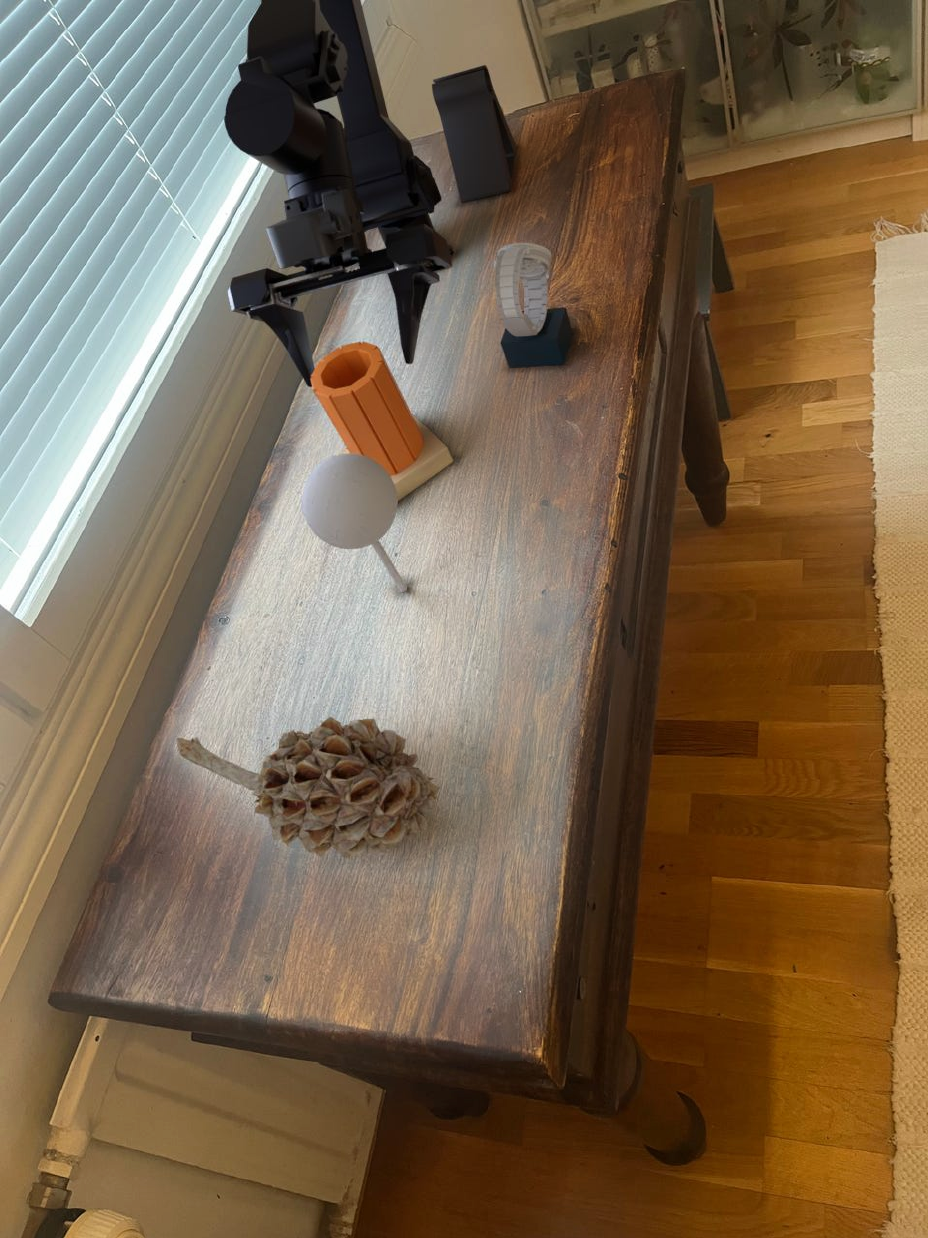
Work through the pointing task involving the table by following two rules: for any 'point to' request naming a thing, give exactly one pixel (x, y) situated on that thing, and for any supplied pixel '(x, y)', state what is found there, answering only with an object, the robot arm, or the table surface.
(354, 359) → the orange fluted tube
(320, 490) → the lollipop
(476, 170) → the phone stand
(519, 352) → the watch
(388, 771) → the pine cone
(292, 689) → the table surface
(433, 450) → the peg on block
